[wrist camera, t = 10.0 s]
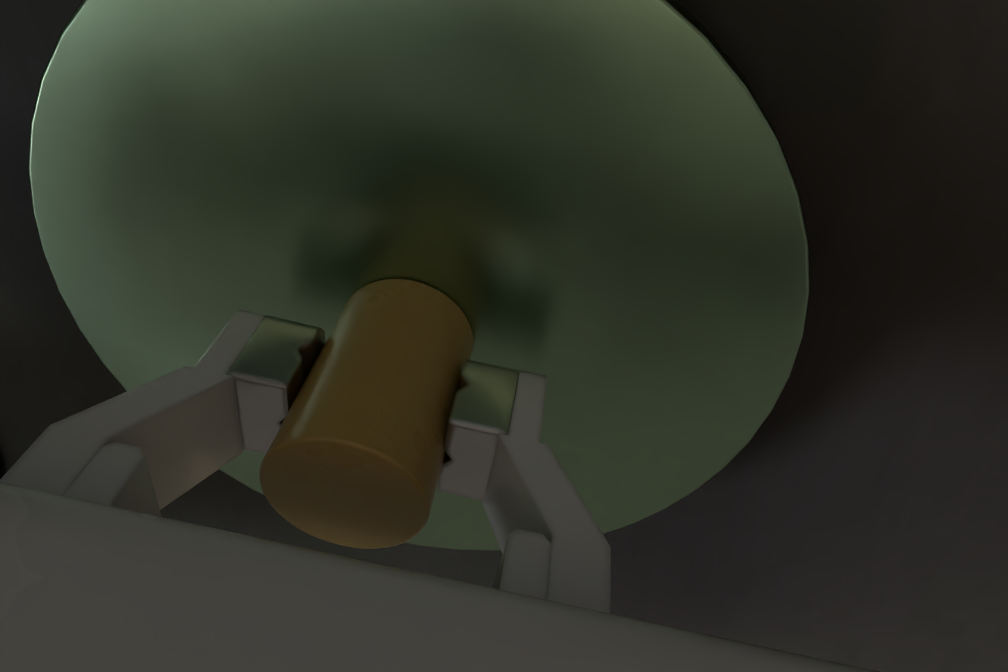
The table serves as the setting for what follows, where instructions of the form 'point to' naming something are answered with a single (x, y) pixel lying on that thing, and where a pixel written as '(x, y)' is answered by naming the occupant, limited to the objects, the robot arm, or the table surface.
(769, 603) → the table surface
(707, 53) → the tin lid
